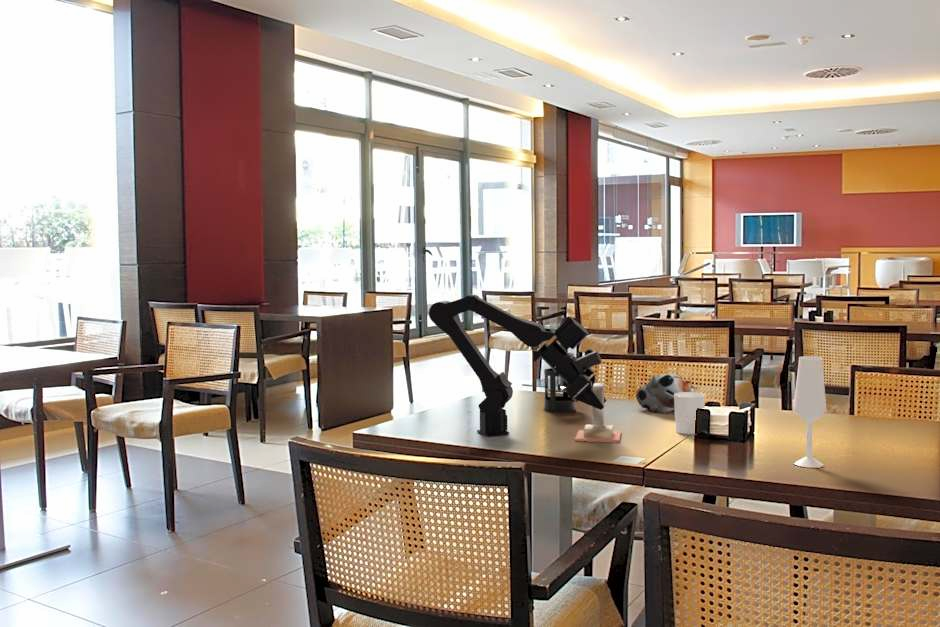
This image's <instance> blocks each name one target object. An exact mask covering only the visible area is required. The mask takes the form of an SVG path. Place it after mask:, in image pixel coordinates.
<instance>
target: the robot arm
mask: <svg viewBox="0 0 940 627" xmlns="http://www.w3.org/2000/svg"><path fill="white" fill-rule="evenodd" d="M468 311H471V312H473V313H475V314H477V315H479V316H480V317H482V318H485V319H487V320H488V321H490V322H492V323H494V324H495V325H498V326H500V327H501V328H503V329H505V330H507V331H508V332H510V333H512V334H513V335H514V337H516V338H517V339H518V340H519V341H521V343H523V344H524V345H526V346H527V347H530V348H536V347H538V346H540V345H541V344H542V343H544V342H545V343H544V344H543V345H542V346H541V347H539V349H534V350H532V355H533V357H532V358H533V359H532V360H533V362H536V361H538V360H539V359H540V358H541V360H543V361H544V362H545V363H546V365H548V366H549V367H550V368H552V369H553V368H554V369H553V370H554V371H555V374H556V375H557V376H558V375H559V376H560V379H562V381H563V380H564V381H565V382H566V383H567V384H566V385H567V386H568V387H567V388H566V394H567V395H568V397H570V398H571V399H572V398H573V397H574V400H578V402H581V403H583V404H586V405H589V406H591V407H592V408H593V407H595V408H598V409H600V410H602V409H603V408H604V409H605V405H604V406H603V404H602V403H601V401H600V400H599V399H598V397H597V396H596V395H595V393H594V392H593V385H594V383H597V382H596V377H597V375H596V373H595V372H596V371H595V370H594V369H593V368H592V367H594V366H598V365H600V364H601V363H602V362H603V360H602V358H601V356H600V353H599V351H598V349H596V350H594V349H591V348H588V349H586V350H585V351H584V355H582V356H581V357H579V358H578V357H576V356H575V355H573V356H570V355H569V354H568V353H569V352H568V353H567V350H569V349H571V350H574V349H575V348H576V347H578V345H580V344H581V343H582V341H583V340H585V338H587V337H588V336H589V334H590V333H589V331H588V330H587V329H586V328H585V326H583V325H582V324H581V323H579V322H578V321H577V320H575V319H574V318H573V317H572V316H567V317H566V319H565V320H564V321H563V322H562V324H560V326H558V328H557V329H554V328H548V327H547V328H546V327H545V326H544V325H543V324H541V323H540V322H536V321H532V320H530V319H529V320H528V319H525V318H521V317H518V316H515V315H514V314H512V313H511V312H508V311H506V310H504V309H502V308H500V307H498V306H496V305H494V304H493V303H491V302H489V301H487V300H484V299H483V298H481V297H479V295H477V294H469V295H466V296H465V297H462V298H459V299H456V300H454V301H453V300H452V301H448V300H441V301H437V302H435V303H433V304H432V305H430V307H429V312H428V317H429V319H430V321H431V322H433V323H434V325H435V326H436V327H437V328H438V329H440V330H441V331H442V332H443V333H445V334H446V335H447V336H449V339H451V341H452V342H453V343H454V345H455V347H456V348H457V350H458V351H459V352H460V353H461V355H462V356H463V358H464V359H465V361H466V362H467V363H468V365H469V366H470V368H471V370H472V371H473V372H474V373H475V375H476V377H477V378H478V379H479V382H480V384H481V389H482V391H483V393H484V395H485V398H484V399H483V400H482V401H481V402H480V403H479V404H478V408H479V429H478V430H476V432H477V433H478V434H481V435H483V436H487V437H494V436H501V435H508V434H510V431H508V414H507V409H504V408H505V407H506V404H507V403H508V402H509V401H510V400H511V399H512V397H513V394H514V393H513V392H514V390H513V387H512V385H513V383H512V382H510V381H509V380H508V378H507V376H506V373H505V372H504V371H502V372H500V373H497V372H496V371H495V370H494V369H493V368H492V366H491V365H490V364H489V362H488V361H487V359H486V358H485V357H484V355H483V353H482V352H481V351H480V349H479V348H478V347H477V345H476V344H475V343H474V341H473V339H472V338H471V337H470V335H469V334H468V333H467V331H466V330H465V328H464V326H463V324H462V321H461V318H460V315H459V314H462V313H465V312H468ZM554 337H555V338H554ZM553 338H554V340H553V341H552V342H550V344H549V343H547V342H548V341H550V340H552V339H553ZM559 343H560V345H559ZM557 376H556V377H557ZM606 402H607V399H606V397H605V396H604V404H605V403H606Z"/></svg>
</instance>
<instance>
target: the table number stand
mask: <svg viewBox="0 0 940 627" xmlns="http://www.w3.org/2000/svg"><path fill="white" fill-rule="evenodd" d="M593 392H594V393H595V395H596V396H597V397H598V399H599V400H600V401H601V403H602V404H603V406H604V408H603V409H602V410H600V409H598V408H595V407H593V406H592V424H585V425H584V428H583V430H584V437H599V438H612V434H613V431H614V425H613V424H611V425H610V424H609V425H608V424H605V403H604V397H605V383H604V382H596V383H594V385H593Z"/></svg>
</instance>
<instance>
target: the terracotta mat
mask: <svg viewBox="0 0 940 627" xmlns="http://www.w3.org/2000/svg"><path fill="white" fill-rule="evenodd" d="M621 436H622V430H613V434H612V438H599V437H584V429H579V430H578V432H577V433H576V436H575V438H574V441H575V442H584V441H586V443H587V442H589V443H590V442H591V443H614V444H615V443H616V444H617V443H618V444H619V443H620V440H621Z"/></svg>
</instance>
